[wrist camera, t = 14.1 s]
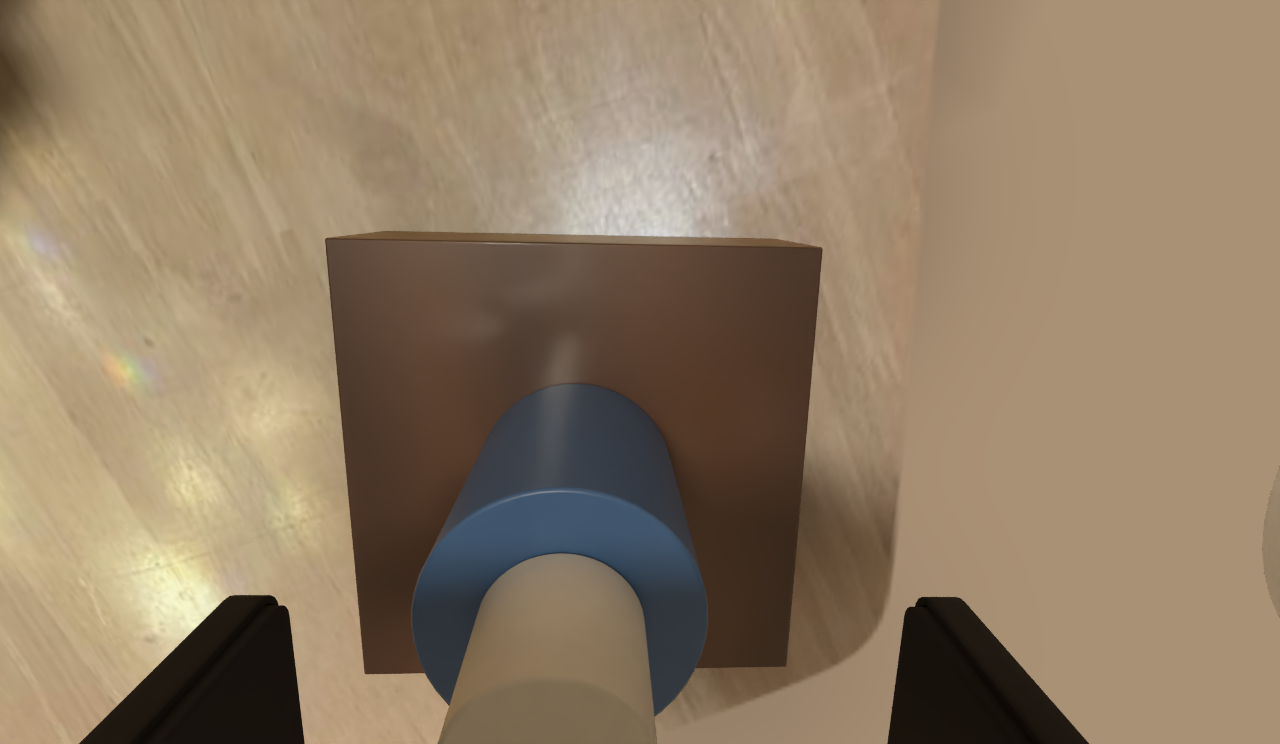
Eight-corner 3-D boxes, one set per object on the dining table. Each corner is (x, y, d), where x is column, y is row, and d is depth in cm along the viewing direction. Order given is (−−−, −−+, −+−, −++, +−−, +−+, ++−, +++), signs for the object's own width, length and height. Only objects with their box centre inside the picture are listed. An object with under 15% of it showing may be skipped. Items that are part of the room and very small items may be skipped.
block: (776, 238, 21) (823, 247, 16) (752, 582, 24) (786, 667, 19) (384, 230, 20) (323, 238, 16) (409, 585, 23) (364, 675, 19)
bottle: (673, 383, 17) (758, 592, 8) (667, 559, 18) (734, 921, 9) (476, 382, 17) (321, 598, 8) (483, 561, 18) (357, 936, 9)
